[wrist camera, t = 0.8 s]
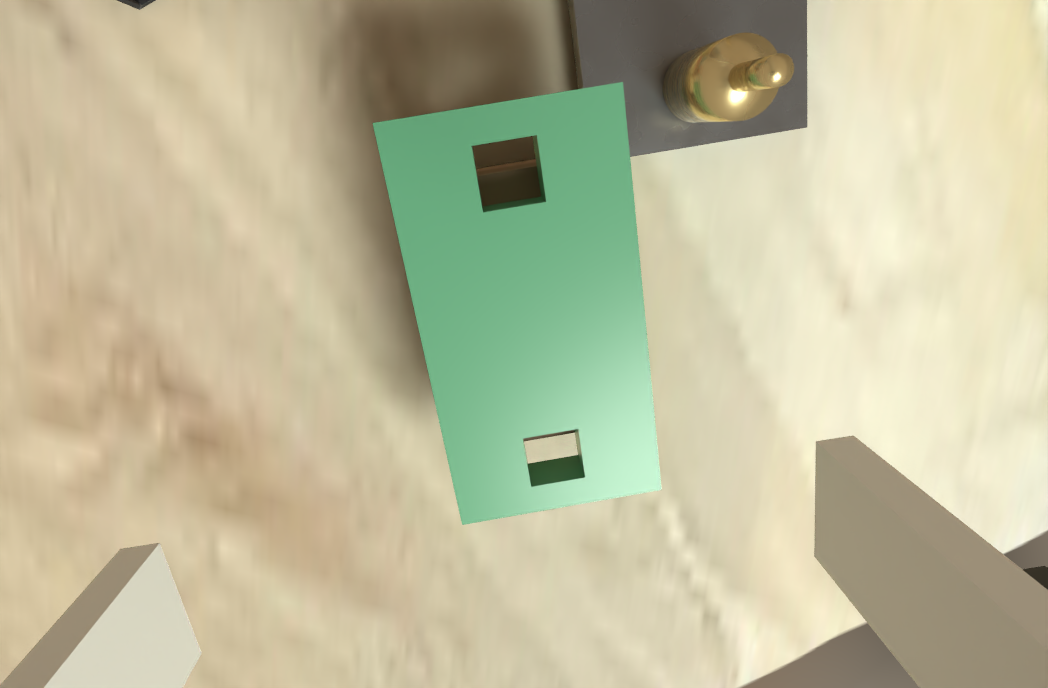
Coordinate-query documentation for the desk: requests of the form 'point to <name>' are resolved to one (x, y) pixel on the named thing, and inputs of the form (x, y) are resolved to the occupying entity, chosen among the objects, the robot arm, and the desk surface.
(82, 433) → the desk surface
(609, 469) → the board
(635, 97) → the chassis
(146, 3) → the ammunition clip
